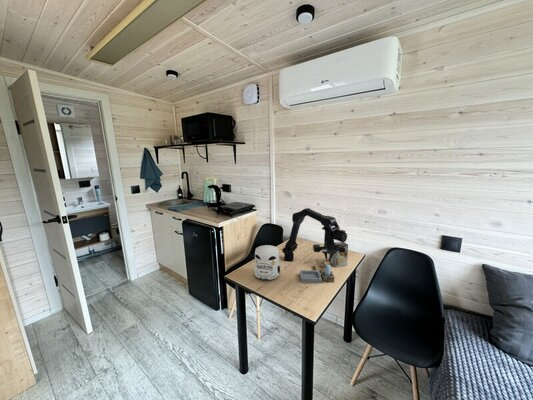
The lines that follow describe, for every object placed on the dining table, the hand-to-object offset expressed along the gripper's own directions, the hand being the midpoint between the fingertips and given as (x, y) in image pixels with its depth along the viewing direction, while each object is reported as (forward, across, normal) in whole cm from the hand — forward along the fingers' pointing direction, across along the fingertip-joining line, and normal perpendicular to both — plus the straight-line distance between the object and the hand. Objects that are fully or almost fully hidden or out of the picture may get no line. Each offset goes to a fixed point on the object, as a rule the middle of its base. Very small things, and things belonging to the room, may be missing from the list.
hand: (328, 261), depth 136 cm
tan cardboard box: (+13, -3, +11) cm, 17 cm away
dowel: (+12, 0, 0) cm, 12 cm away
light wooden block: (+12, +2, +12) cm, 17 cm away
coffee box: (+12, +12, +20) cm, 26 cm away
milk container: (+12, -39, +3) cm, 41 cm away
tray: (+12, -11, +1) cm, 16 cm away
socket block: (+12, 0, 0) cm, 12 cm away
